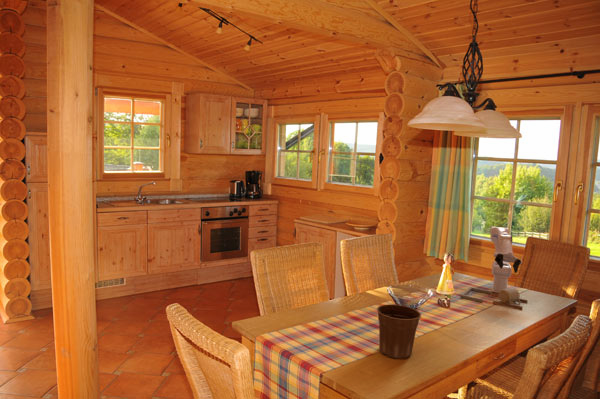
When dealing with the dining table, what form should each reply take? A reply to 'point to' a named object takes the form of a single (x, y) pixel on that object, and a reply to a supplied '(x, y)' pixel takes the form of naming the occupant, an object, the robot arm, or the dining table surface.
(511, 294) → the speckled coffee cup
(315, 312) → the dining table surface
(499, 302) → the walnut dock
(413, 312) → the plant pot
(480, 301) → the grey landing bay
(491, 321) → the dining table surface
